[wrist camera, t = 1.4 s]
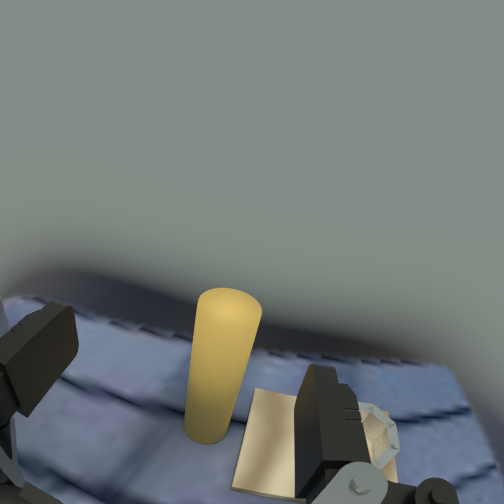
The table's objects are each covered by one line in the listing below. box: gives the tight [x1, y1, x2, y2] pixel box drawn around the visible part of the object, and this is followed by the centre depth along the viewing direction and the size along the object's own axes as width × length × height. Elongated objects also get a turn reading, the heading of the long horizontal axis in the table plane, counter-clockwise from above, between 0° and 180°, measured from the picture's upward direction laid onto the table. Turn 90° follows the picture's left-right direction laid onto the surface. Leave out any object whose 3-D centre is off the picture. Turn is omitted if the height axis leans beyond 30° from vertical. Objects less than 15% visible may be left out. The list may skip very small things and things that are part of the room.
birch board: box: [230, 388, 398, 502], centre depth 27 cm, size 17×13×1 cm
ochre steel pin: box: [184, 288, 262, 444], centre depth 24 cm, size 4×4×16 cm
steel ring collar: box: [358, 402, 400, 470], centre depth 25 cm, size 9×9×4 cm
